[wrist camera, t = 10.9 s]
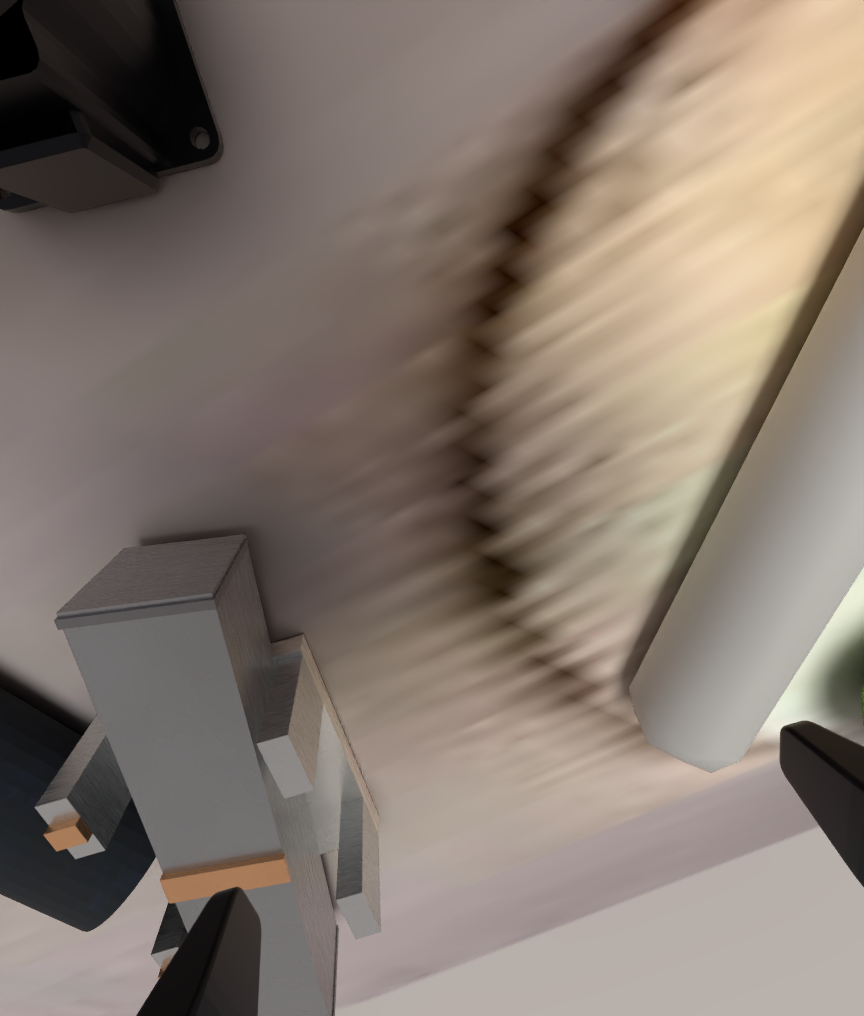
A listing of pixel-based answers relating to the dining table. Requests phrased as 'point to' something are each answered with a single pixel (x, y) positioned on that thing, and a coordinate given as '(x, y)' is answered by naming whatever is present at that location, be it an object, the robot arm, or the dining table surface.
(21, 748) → the pipe connector
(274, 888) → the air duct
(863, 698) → the avocado
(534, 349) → the dining table surface
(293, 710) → the collar rail
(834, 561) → the tube
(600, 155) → the dining table surface
